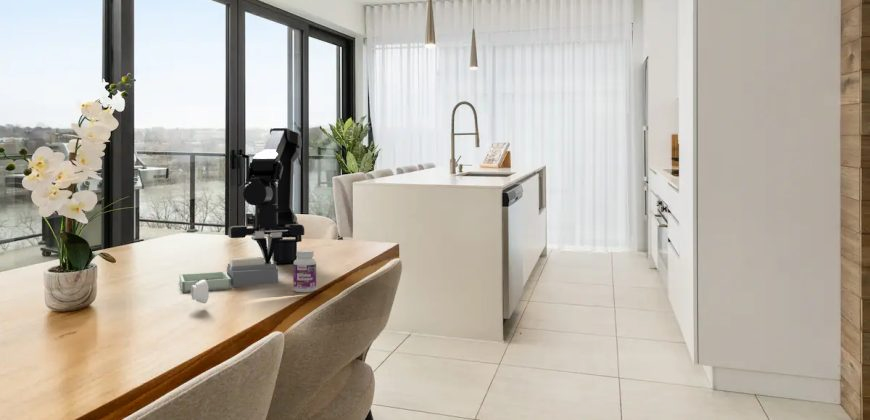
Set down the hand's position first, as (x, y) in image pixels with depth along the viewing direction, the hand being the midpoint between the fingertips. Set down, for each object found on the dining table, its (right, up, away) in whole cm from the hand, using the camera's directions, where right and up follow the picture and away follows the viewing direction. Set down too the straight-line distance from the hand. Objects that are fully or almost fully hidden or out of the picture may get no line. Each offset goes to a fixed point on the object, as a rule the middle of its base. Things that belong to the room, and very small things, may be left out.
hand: (267, 263), depth 148 cm
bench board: (-4, -5, -2) cm, 6 cm away
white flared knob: (-6, -6, -28) cm, 29 cm away
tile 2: (-3, -1, -1) cm, 3 cm away
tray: (-14, -5, -7) cm, 16 cm away
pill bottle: (+13, -6, -13) cm, 19 cm away
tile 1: (-6, -1, -3) cm, 7 cm away
